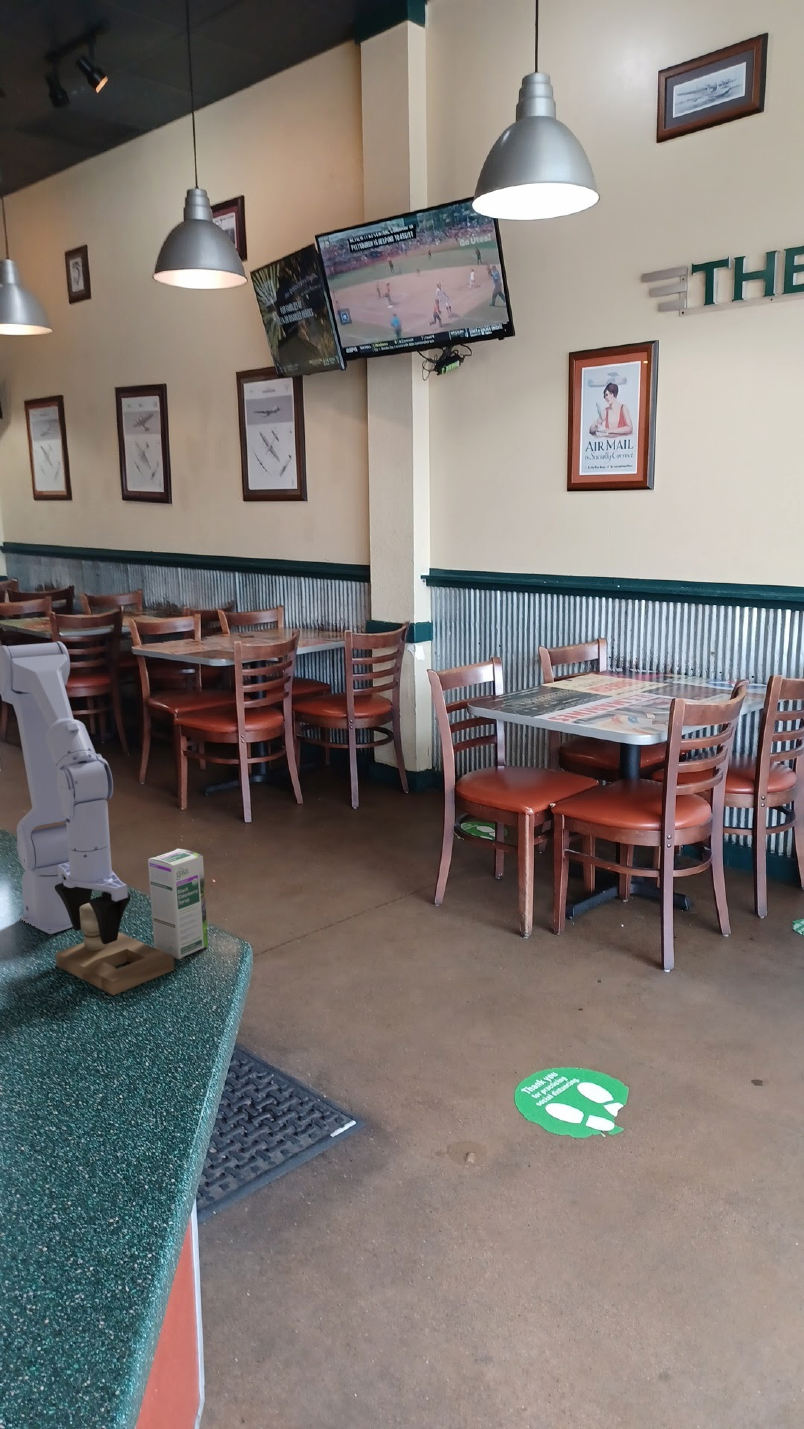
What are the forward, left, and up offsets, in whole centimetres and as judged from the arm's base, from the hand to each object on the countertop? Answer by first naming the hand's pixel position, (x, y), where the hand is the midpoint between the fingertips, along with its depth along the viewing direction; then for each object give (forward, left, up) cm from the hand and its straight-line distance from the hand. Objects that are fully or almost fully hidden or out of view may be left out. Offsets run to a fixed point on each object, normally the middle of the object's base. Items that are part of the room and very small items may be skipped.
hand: (95, 935), depth 145 cm
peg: (0, 0, -2) cm, 2 cm away
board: (+5, 0, -4) cm, 6 cm away
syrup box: (+7, +10, -4) cm, 13 cm away
